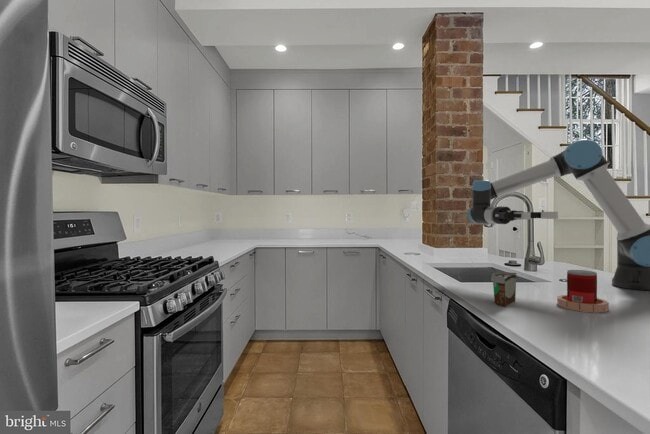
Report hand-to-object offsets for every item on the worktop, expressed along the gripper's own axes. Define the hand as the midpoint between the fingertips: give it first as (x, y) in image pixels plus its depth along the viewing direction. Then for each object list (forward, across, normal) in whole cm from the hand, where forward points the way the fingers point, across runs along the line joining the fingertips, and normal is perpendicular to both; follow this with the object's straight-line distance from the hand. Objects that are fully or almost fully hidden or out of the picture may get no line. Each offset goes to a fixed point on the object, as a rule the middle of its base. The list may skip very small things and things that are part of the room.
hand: (543, 215), depth 132 cm
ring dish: (+15, +1, -30) cm, 34 cm away
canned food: (+15, +1, -30) cm, 33 cm away
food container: (+1, +22, -30) cm, 37 cm away
